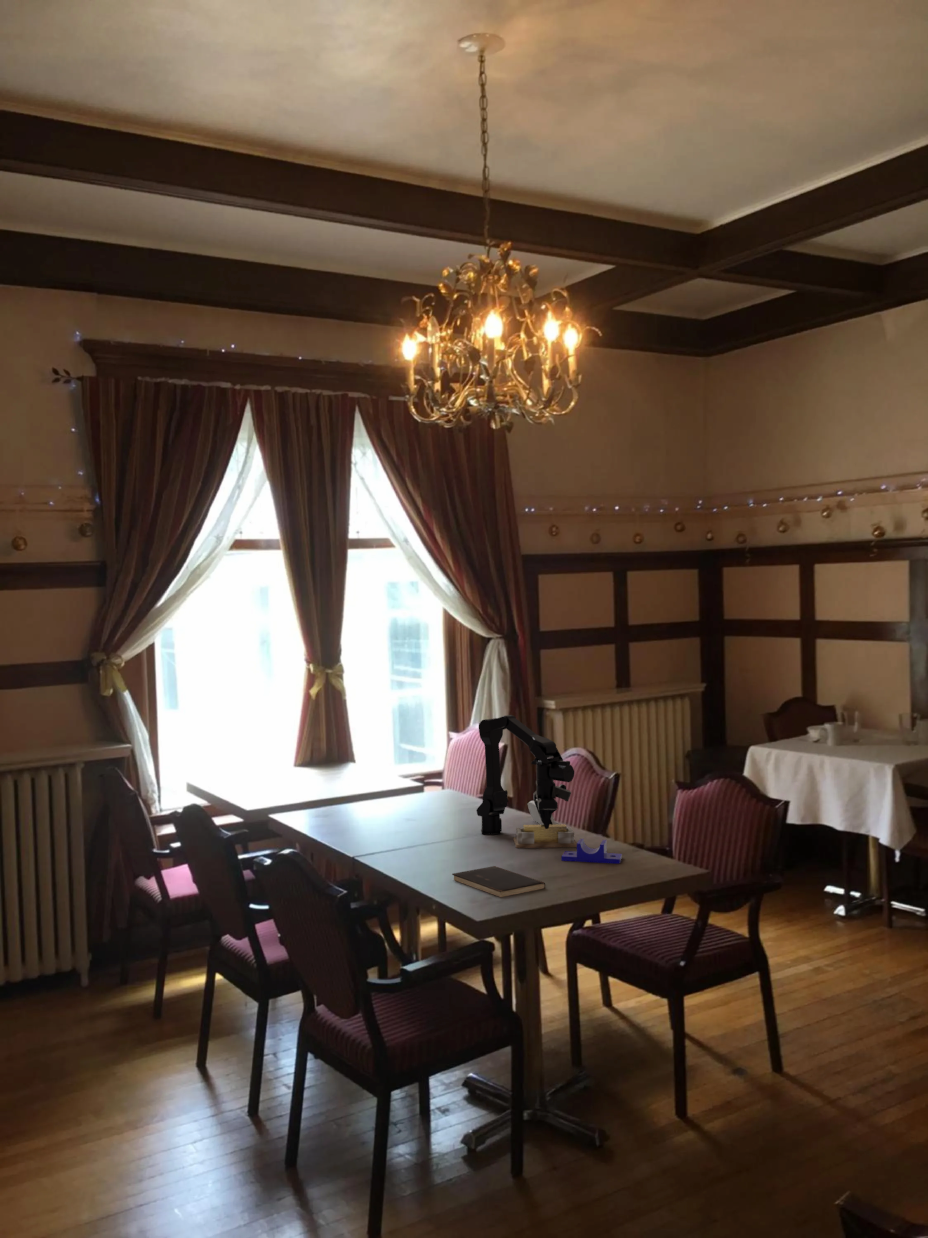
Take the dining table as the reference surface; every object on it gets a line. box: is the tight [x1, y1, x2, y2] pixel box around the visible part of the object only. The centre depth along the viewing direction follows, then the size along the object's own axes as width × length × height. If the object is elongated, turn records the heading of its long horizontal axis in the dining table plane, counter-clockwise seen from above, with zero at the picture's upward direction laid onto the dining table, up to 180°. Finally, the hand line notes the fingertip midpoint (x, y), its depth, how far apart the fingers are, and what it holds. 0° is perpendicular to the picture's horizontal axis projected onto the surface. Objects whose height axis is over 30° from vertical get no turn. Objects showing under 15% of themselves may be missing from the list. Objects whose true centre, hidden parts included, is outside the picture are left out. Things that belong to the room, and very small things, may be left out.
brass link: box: [522, 823, 568, 842], centre depth 361 cm, size 14×4×5 cm, turn 93°
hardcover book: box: [451, 865, 546, 898], centre depth 310 cm, size 16×23×2 cm
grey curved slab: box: [527, 799, 560, 825], centre depth 393 cm, size 17×5×10 cm, turn 15°
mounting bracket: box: [560, 838, 623, 865], centre depth 339 cm, size 18×7×6 cm, turn 76°
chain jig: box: [513, 826, 577, 849], centre depth 361 cm, size 20×11×4 cm, turn 92°
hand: (545, 825), depth 360 cm, fingers open, 9 cm apart
